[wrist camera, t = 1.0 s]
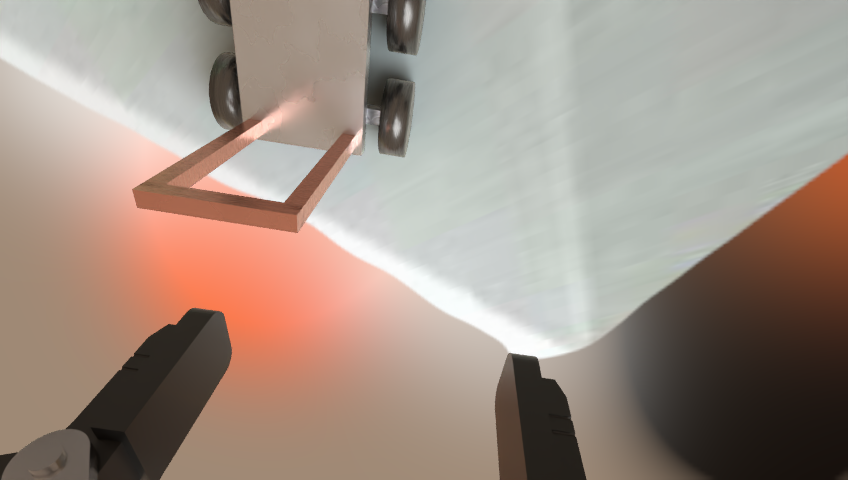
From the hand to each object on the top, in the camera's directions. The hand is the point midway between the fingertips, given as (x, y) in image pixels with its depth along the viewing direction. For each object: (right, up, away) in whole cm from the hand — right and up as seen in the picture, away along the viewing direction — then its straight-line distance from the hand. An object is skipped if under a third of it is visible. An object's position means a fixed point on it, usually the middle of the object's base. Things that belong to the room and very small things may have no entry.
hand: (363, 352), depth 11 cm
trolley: (-6, +19, +22) cm, 30 cm away
